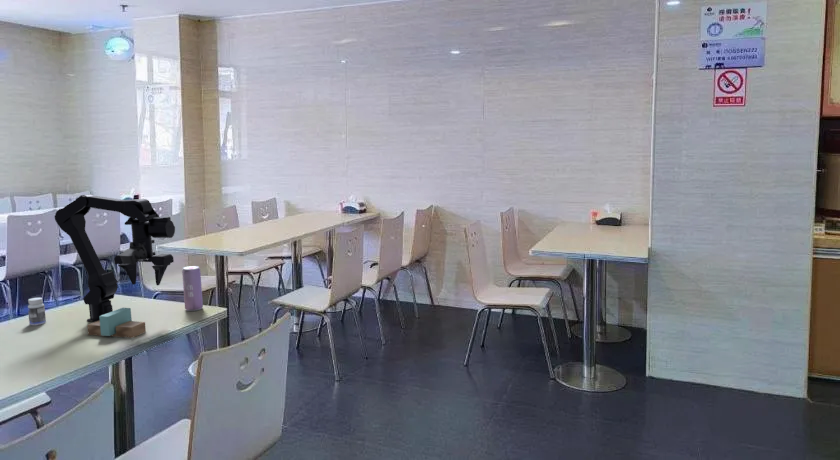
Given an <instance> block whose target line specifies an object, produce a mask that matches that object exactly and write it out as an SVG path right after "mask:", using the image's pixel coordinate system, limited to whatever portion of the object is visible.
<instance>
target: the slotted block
mask: <svg viewBox="0 0 840 460" xmlns="http://www.w3.org/2000/svg"><path fill="white" fill-rule="evenodd" d="M86 327H87V335H88V336H100V337H103V336H102V335H101V329H100V320H99V321H96V322H95V321H93V322H91V323H89V324H87V326H86ZM145 333H146V321H137V320H136V321H135V320H132V321H128V322H126V323H123V324H121V325H118V326H116V333H115V334H113V335H111V336H110V337H113V338H114V337H117V338H129V339H130V338H131V339H133V338H135V337H137V336H141V335H143V334H145Z"/></svg>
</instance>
